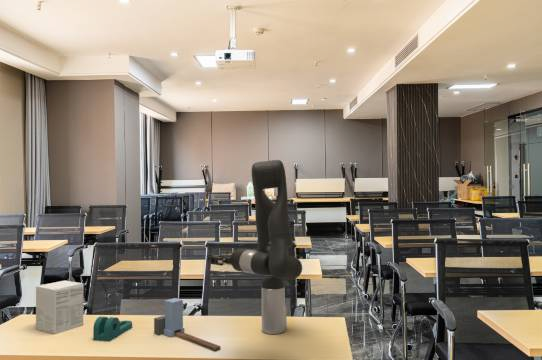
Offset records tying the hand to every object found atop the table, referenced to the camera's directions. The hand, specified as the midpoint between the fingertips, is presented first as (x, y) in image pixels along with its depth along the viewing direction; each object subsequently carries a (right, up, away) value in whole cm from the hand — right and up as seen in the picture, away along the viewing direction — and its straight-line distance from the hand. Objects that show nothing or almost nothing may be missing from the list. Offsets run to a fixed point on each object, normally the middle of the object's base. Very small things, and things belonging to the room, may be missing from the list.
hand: (217, 256), depth 148 cm
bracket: (-42, -33, +15) cm, 56 cm away
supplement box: (-68, -34, +22) cm, 79 cm away
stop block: (-22, -33, +16) cm, 43 cm away
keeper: (-19, -33, +13) cm, 40 cm away
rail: (-10, -32, +5) cm, 34 cm away
